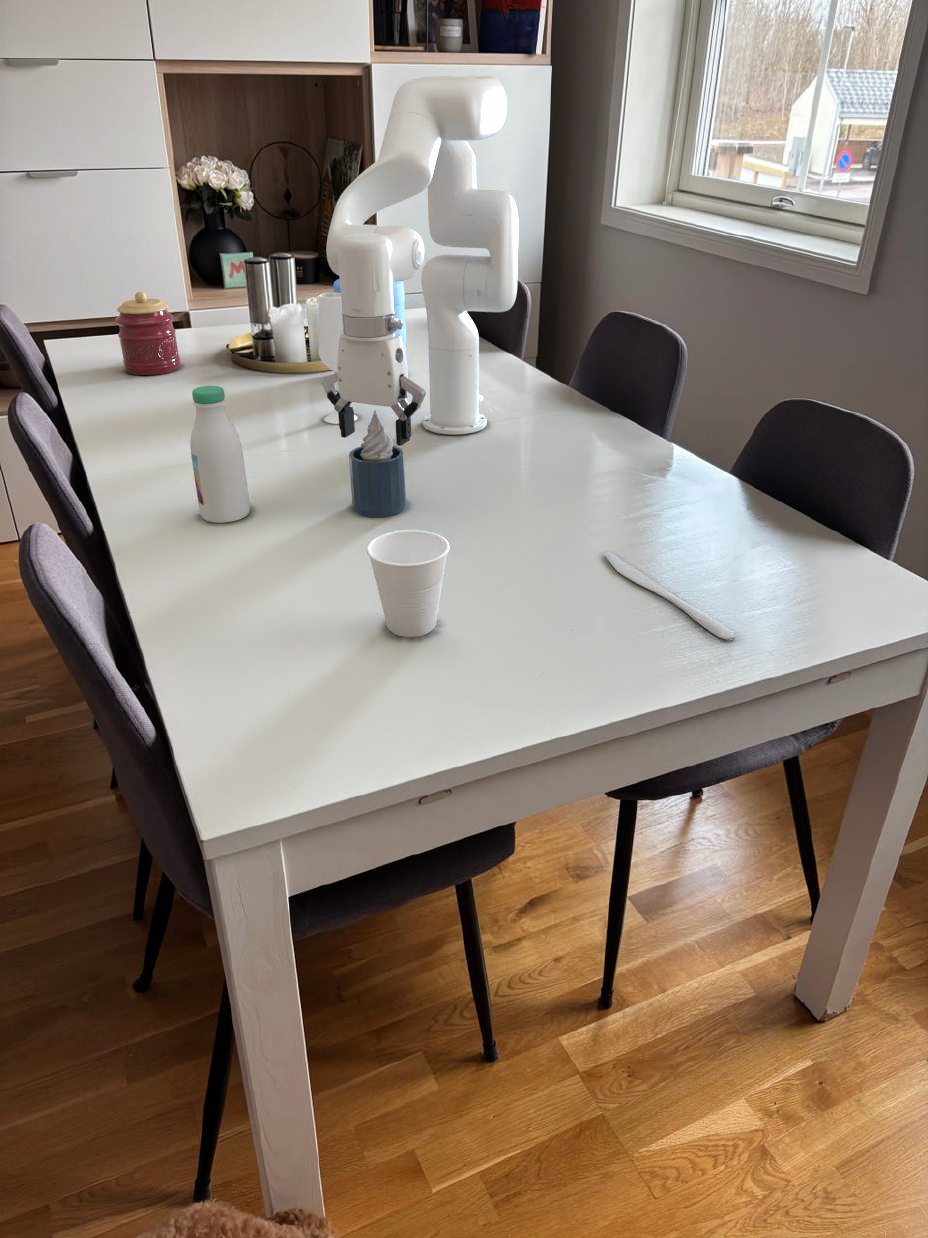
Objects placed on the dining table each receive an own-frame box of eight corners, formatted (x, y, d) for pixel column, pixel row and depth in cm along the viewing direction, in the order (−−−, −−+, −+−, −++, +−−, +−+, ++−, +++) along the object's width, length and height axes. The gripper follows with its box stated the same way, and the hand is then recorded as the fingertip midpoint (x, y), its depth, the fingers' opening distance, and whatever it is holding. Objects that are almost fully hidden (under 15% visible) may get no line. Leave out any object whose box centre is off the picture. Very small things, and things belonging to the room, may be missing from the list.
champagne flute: (317, 421, 190) (306, 297, 178) (334, 411, 196) (324, 290, 184) (347, 425, 188) (338, 299, 176) (363, 415, 193) (355, 292, 182)
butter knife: (719, 640, 114) (739, 633, 115) (596, 555, 135) (613, 550, 136) (719, 644, 114) (738, 637, 115) (596, 559, 136) (613, 553, 137)
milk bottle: (259, 507, 152) (244, 383, 142) (234, 526, 146) (216, 398, 136) (217, 502, 154) (199, 379, 145) (191, 520, 148) (170, 393, 138)
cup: (371, 609, 123) (366, 531, 117) (448, 605, 124) (446, 527, 118) (371, 649, 114) (366, 566, 109) (454, 644, 115) (452, 562, 110)
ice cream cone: (390, 509, 149) (385, 415, 142) (359, 506, 150) (353, 414, 143) (398, 496, 154) (394, 405, 146) (368, 494, 154) (362, 404, 147)
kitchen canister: (139, 360, 233) (125, 285, 224) (189, 362, 231) (178, 286, 223) (115, 375, 222) (100, 296, 213) (168, 376, 220) (155, 297, 211)
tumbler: (369, 493, 157) (365, 441, 153) (414, 501, 154) (412, 448, 150) (343, 512, 150) (339, 458, 146) (390, 520, 147) (387, 465, 143)
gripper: (433, 324, 138) (436, 438, 146) (330, 315, 144) (339, 425, 153) (410, 336, 132) (414, 454, 140) (304, 325, 138) (314, 439, 147)
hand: (375, 438), depth 147 cm, fingers open, 9 cm apart
